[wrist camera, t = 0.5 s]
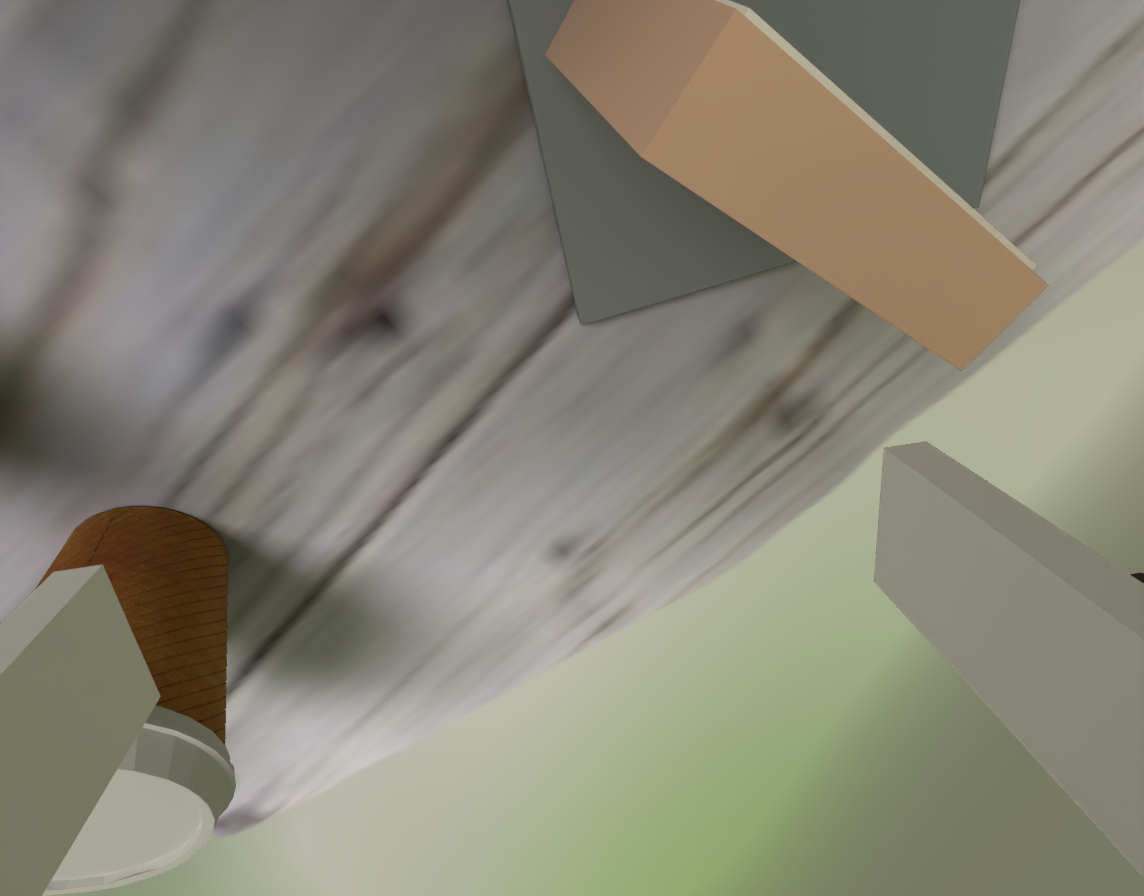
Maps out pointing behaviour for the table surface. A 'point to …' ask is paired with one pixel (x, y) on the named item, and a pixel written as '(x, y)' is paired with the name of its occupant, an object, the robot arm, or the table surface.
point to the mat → (699, 229)
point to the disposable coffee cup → (183, 712)
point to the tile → (796, 164)
